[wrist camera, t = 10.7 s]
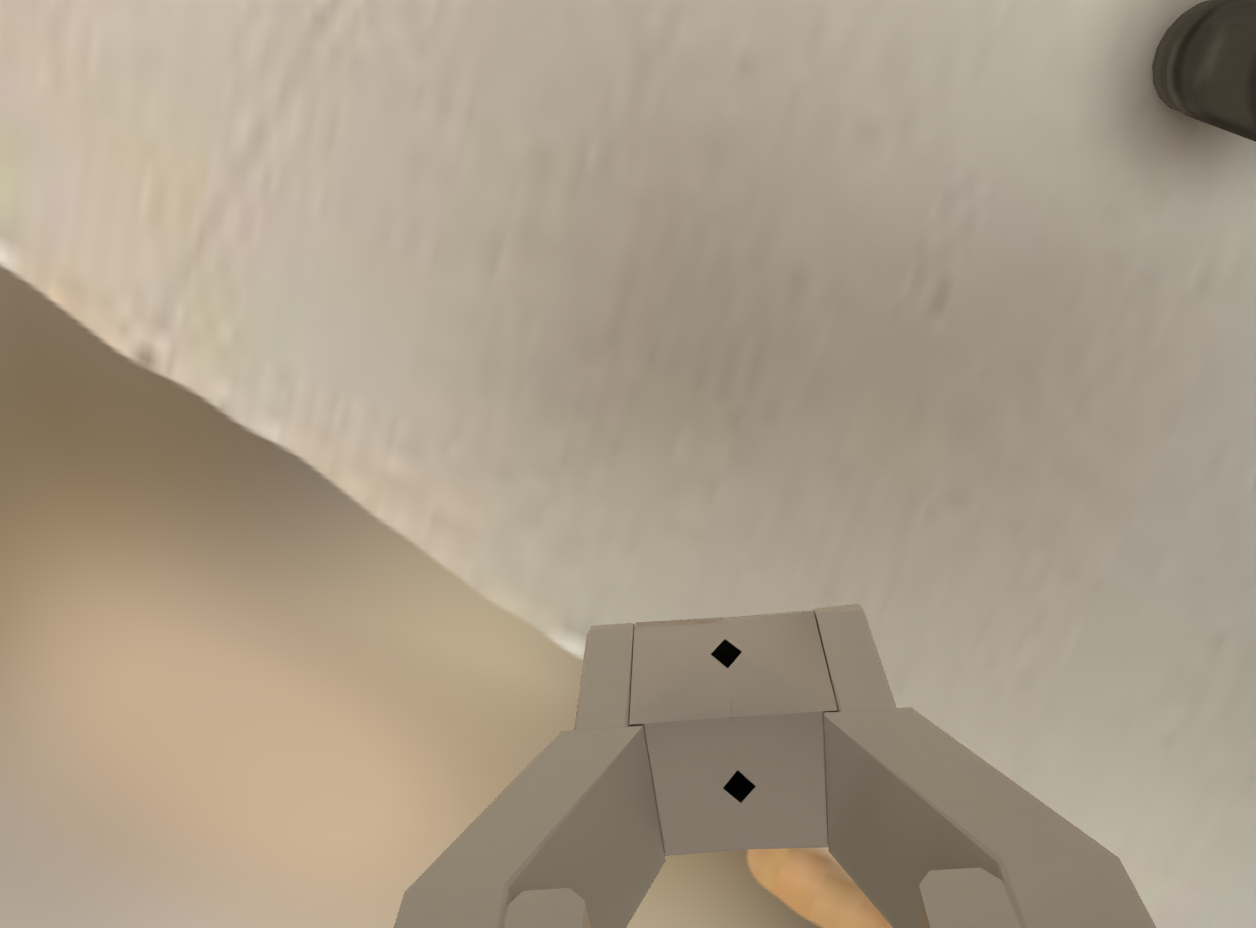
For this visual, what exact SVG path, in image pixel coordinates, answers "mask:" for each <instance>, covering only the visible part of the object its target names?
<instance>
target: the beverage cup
mask: <svg viewBox="0 0 1256 928" xmlns="http://www.w3.org/2000/svg"><path fill="white" fill-rule="evenodd" d="M1153 83H1154V85H1155V87H1156V90H1157V92H1158V95H1159V97H1160V98H1161V99H1162V100H1163V101H1164V102H1165V103H1166V104H1167V105H1168V106H1169V107H1171V108H1173V109H1176V110H1178V111H1181V112H1183V113H1184V114H1185V115H1187V116H1189V117H1192V118H1194V119H1197V120H1200V121H1202V122H1205V123H1208V124H1210V125H1213V126H1216V127H1218V128H1221V129H1224V130H1226V131H1229V132H1232V133H1234V134H1237V135H1240V136H1242V137H1245V138H1248V139H1250V140H1253V141H1256V0H1209V1H1206V2H1203V3H1200V4H1198V5H1196V6H1195V7H1193V8H1191V9H1190V10H1188V11H1187V12H1185V13H1184V14H1182V15H1181V16H1180V17H1179V18H1178V19H1177V20H1176V21H1175V23H1174V24H1173V25H1172V26H1171V27H1170V28H1169V29H1168V30H1167V32H1166V34H1165V35H1164V37H1163V39H1162V41H1161V43H1160V44H1159V46H1158V48H1157V52H1156V56H1155V60H1154V63H1153Z"/></svg>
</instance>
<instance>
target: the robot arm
mask: <svg viewBox="0 0 1256 928" xmlns="http://www.w3.org/2000/svg"><path fill="white" fill-rule="evenodd" d="M745 846H746V849H779V848H818V847H829V852H830V853H831V854H832V856H833V857H834V858H835V859H836V860H837V862H838V863H839V864H840V865H841V866H842V868H843V869H844V870H845V871H846V872H847V873H848V875H849V876H850V877H851V878H852V879H853V881H854V882H855V883H856V884H857V885H858V887H859V888H860V889H861V890H862V891H863V892H864V894H865V895H866V896H867V897H868V898H869V900H870V901H871V902H872V903H873V904H874V906H875V907H876V908H877V909H878V910H879V911H880V913H881V914H882V915H883V916H884V917H885V919H886V920H887V921H888V922H889V923H890V925H891V926H892V927H893V928H1156V926H1155V924H1154V922H1153V920H1152V919H1151V917H1150V915H1149V913H1148V911H1147V909H1146V907H1145V906H1144V904H1143V902H1142V900H1141V898H1140V896H1139V894H1138V893H1137V891H1136V889H1135V887H1134V885H1133V883H1132V881H1131V880H1130V878H1129V876H1128V874H1127V872H1126V870H1125V868H1124V867H1123V865H1122V863H1121V861H1120V859H1119V858H1118V857H1117V856H1116V855H1114V854H1113V853H1111V852H1110V851H1109V850H1107V849H1106V848H1105V847H1103V846H1102V845H1100V844H1099V843H1098V842H1096V841H1095V840H1093V839H1092V838H1091V837H1089V836H1088V835H1087V834H1085V833H1084V832H1082V831H1081V830H1080V829H1078V828H1077V827H1076V826H1074V825H1073V824H1071V823H1070V822H1069V821H1067V820H1066V819H1064V818H1063V817H1062V816H1060V815H1059V814H1058V813H1056V812H1055V811H1053V810H1052V809H1051V808H1049V807H1048V806H1047V805H1045V804H1044V803H1042V802H1041V801H1040V800H1038V799H1037V798H1035V797H1034V796H1033V795H1031V794H1030V793H1029V792H1027V791H1026V790H1024V789H1023V788H1022V787H1020V786H1019V785H1018V784H1016V783H1015V782H1013V781H1012V780H1011V779H1009V778H1008V777H1006V776H1005V775H1004V774H1002V773H1001V772H1000V771H998V770H997V769H995V768H994V767H993V766H991V765H990V764H989V763H987V762H986V761H984V760H983V759H982V758H980V757H979V756H977V755H976V754H975V753H973V752H972V751H971V750H969V749H968V748H966V747H965V746H964V745H962V744H961V743H960V742H958V741H957V740H955V739H954V738H953V737H951V736H950V735H948V734H947V733H946V732H944V731H943V730H942V729H940V728H939V727H937V726H936V725H935V724H933V723H932V722H931V721H929V720H928V719H926V718H925V717H924V716H922V715H921V714H919V713H918V712H917V711H915V710H914V709H913V708H896V705H895V702H894V699H893V696H892V693H891V690H890V687H889V684H888V681H887V678H886V675H885V672H884V669H883V666H882V663H881V660H880V657H879V654H878V651H877V648H876V645H875V642H874V639H873V637H872V634H871V631H870V628H869V625H868V622H867V619H866V616H865V613H864V610H863V608H862V607H860V606H859V605H858V604H855V605H845V606H836V607H827V608H817V609H813V611H801V612H789V613H777V614H765V615H753V616H742V617H730V618H723V617H722V618H705V619H688V620H671V621H653V622H636V625H635V624H633V623H626V624H612V625H598V626H591V628H590V630H589V632H588V633H587V638H586V645H585V653H584V660H583V668H582V675H581V683H580V690H579V698H578V706H577V712H576V721H575V727H574V730H572V731H561V732H560V733H559V734H558V735H557V736H556V737H555V738H554V739H553V740H552V741H551V742H550V743H549V744H548V745H547V746H546V747H545V748H544V749H543V750H542V751H541V752H540V753H539V754H538V755H537V756H536V758H534V759H533V761H532V762H531V763H530V764H529V765H528V766H527V767H526V768H525V769H524V770H523V771H522V772H521V773H520V774H519V775H518V776H517V777H516V778H515V779H514V780H513V781H512V782H511V783H510V784H509V785H508V786H507V787H506V788H505V790H503V791H502V792H501V794H500V795H499V796H498V797H497V798H496V799H495V800H494V801H493V802H492V803H491V804H490V805H489V806H488V807H487V808H486V809H485V810H484V811H483V812H482V813H481V814H480V815H479V816H478V817H477V818H476V819H475V821H473V822H472V823H471V824H470V825H469V826H468V827H467V829H466V830H465V831H464V832H463V833H462V834H461V835H460V836H459V837H458V838H457V839H456V840H455V841H454V842H453V843H452V844H451V845H450V846H449V847H448V848H447V849H446V850H445V851H444V852H443V853H442V854H441V855H440V856H439V857H438V858H437V859H436V860H435V861H434V862H433V863H432V865H430V867H429V868H428V869H427V870H426V871H425V872H424V873H423V874H422V875H421V876H420V877H419V878H418V879H417V880H416V881H415V882H414V883H413V884H412V885H411V886H410V887H409V888H408V889H407V890H406V891H405V893H404V896H403V900H402V903H401V906H400V909H399V912H398V916H397V919H396V922H395V926H394V928H626V927H627V925H628V923H629V922H630V920H631V918H632V917H633V915H634V913H635V912H636V910H637V908H638V906H639V905H640V903H641V901H642V900H643V898H644V896H645V895H646V893H647V891H648V889H649V888H650V886H651V884H652V883H653V881H654V879H655V878H656V876H657V874H658V872H659V871H660V869H661V867H662V866H663V864H664V862H665V856H670V855H682V854H694V853H706V852H718V851H731V850H743V849H745Z"/></svg>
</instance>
